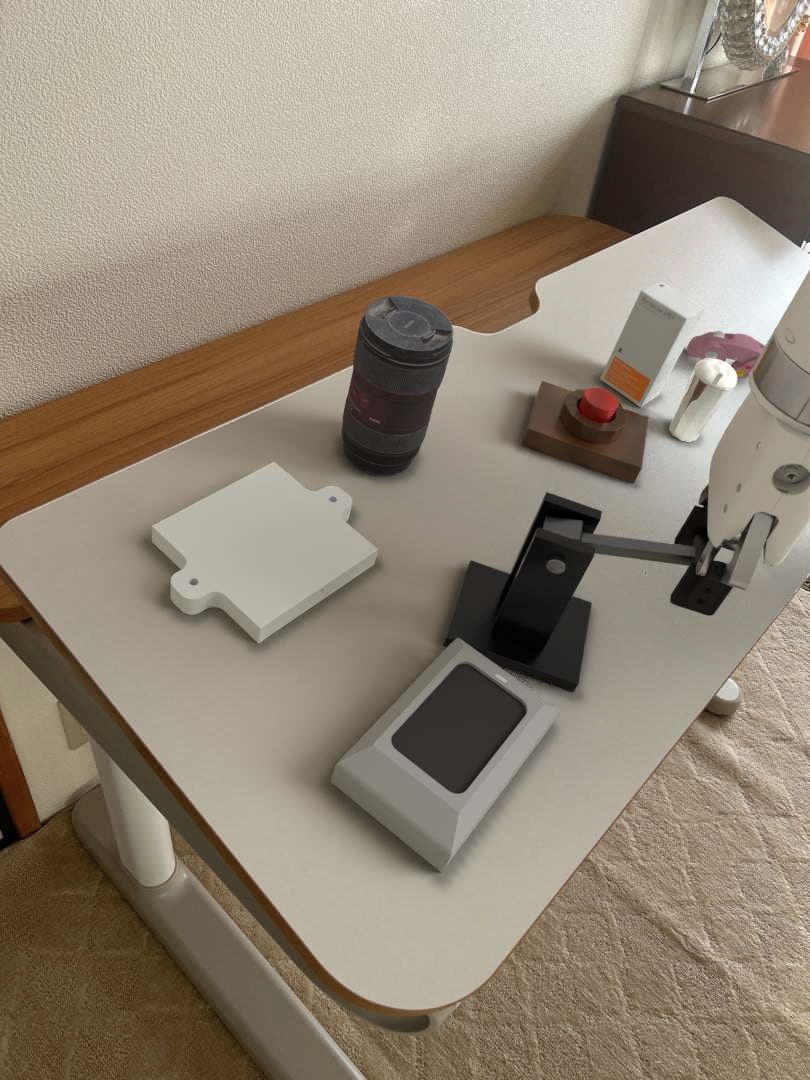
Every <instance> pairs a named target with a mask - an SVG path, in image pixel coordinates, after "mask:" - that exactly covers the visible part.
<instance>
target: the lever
mask: <svg viewBox="0 0 810 1080" xmlns="http://www.w3.org/2000/svg"><path fill="white" fill-rule="evenodd" d="M543 529H545V530H548V531H551V532H554V533H556V534H559V535H562V536H565V537H568V538H571V539H574V540H577V541H579V542H582V543H585V544H588V545H591V546H594V547H595V548H596V549H595V555H603V556H611V557H617V558H625V559H633V560H639V561H640V560H641V561H648V562H656V563H664V564H671V565H680V566H687V567H689V565H690V564H691V562H692V561H693V562H698V561H699V559H700V557H701V555H702V553H703V551H704V549H705V547H706V545H707V543H708V541H709V537H708V528H704V527H701V528H698V529H696V530H695V531H694V532H693V538H692V546H687V545H679V544H674V543H671V542H662V541H655V540H654V541H653V540H646V539H639V538H632V537H631V538H630V537H622V536H614V535H606V534H598V533H593V534H591V533H582V531H583V521H582V520H574V519H566V518H558V517H550V516H546V517H545V521H544V525H543Z"/></svg>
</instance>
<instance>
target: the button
mask: <svg viewBox="0 0 810 1080" xmlns="http://www.w3.org/2000/svg"><path fill="white" fill-rule="evenodd" d="M586 389H587V390H586V391H585V392H584V395H583V397H582V399H581V401H580V404H579V411H580V412H581V414H583V415H584V416H585V417H587V418H588V419H590V420H593V421H596V422H598V423H606V422H609V421H610V420H611V419H612V417H613V415H614V413H615V411H616V409H617V407H618V402H619V399H618V398H617V396H616V395H615V394H613V393H612V392H611V391H609V390H608V389H606V388H602V387H598V386H593V387H589V388H586Z"/></svg>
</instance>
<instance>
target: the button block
mask: <svg viewBox="0 0 810 1080" xmlns="http://www.w3.org/2000/svg"><path fill="white" fill-rule="evenodd" d="M587 389H588V388H577V389H574V390H571V389H568V388H565V387H563V386H560V385H556V384H554V383H551V382H547V381H544V380H541V382H540V384H539V387H538V390H537V392H536V394H535V398H534V401H533V405H532V408H531V411H530V415H529V418H528V422H527V425H526V428H525V432H524V435H523V439H522V441H521V445H522V446H524V447H525V448H526V447H527V448H530V449H532V450H535V451H538V452H540V453H544V454H547V455H550V456H552V457H555V458H559V459H561V460H564V461H567V462H570V463H573V464H576V465H579V466H582V467H585V468H587V469H590V470H593V471H596V472H599V473H601V474H605V475H608V476H611V477H614V478H616V479H618V480H619V479H620V480H622V481H625V482H628V483H631V484H635V482H636V480H637V479H638V477H639V475H640V473H641V471H642V468H643V462H644V456H645V448H646V441H647V432H648V424H649V416H646V415H644V414H641V413H638V412H636V411H632V410H629V409H626V408H624V407H623V406H622V404H621V403H620V402H619V401H618V407H617V409H616V411H615V413H614V415H613V417H612V419H611V420H610V421H609V422H606V423H598V422H596V421H593V420H590V419H588V418H587V417H585V416H584V415H583V414H581V412H580V411H579V404H580V401H581V399H582V397H583V395H584V392H585V391H586V390H587Z"/></svg>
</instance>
